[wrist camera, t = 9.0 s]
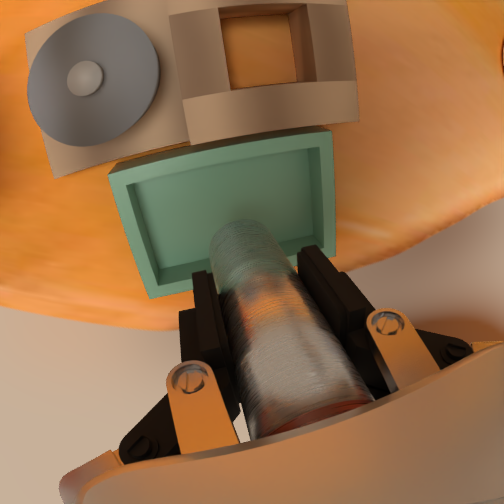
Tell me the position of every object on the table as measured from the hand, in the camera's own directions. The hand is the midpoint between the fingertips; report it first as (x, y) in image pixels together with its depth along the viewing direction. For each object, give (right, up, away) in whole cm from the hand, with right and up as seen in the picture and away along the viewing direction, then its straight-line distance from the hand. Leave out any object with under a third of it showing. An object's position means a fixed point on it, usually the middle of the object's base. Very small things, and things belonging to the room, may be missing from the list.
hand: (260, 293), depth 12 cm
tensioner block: (-4, +12, +3) cm, 13 cm away
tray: (-2, +5, +8) cm, 9 cm away
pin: (-1, +2, +3) cm, 4 cm away
